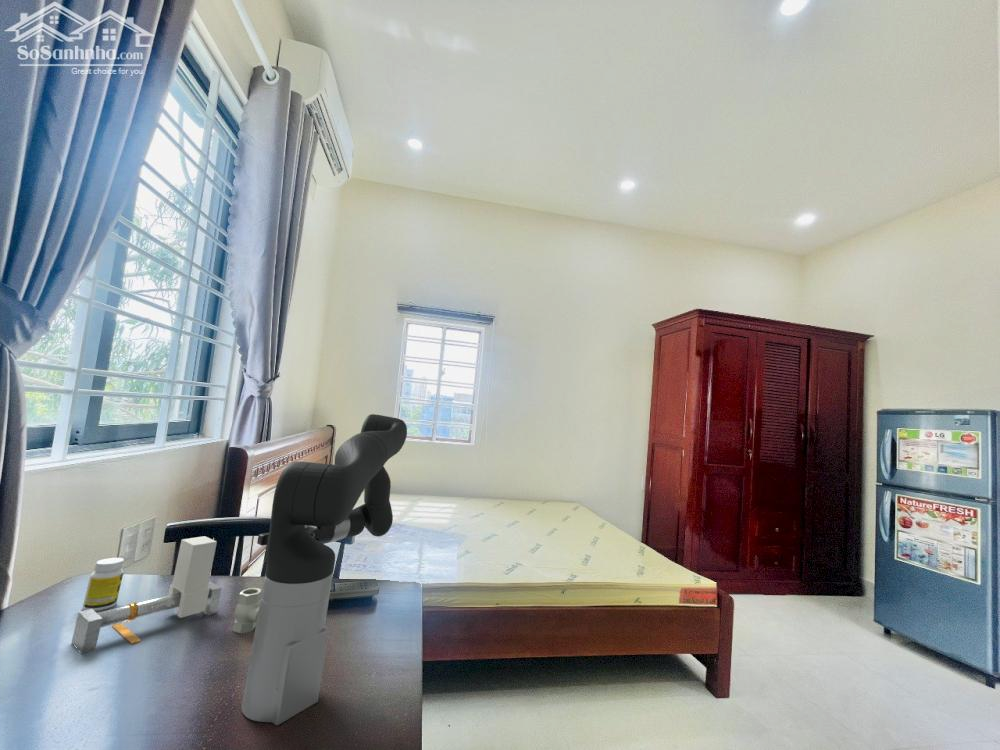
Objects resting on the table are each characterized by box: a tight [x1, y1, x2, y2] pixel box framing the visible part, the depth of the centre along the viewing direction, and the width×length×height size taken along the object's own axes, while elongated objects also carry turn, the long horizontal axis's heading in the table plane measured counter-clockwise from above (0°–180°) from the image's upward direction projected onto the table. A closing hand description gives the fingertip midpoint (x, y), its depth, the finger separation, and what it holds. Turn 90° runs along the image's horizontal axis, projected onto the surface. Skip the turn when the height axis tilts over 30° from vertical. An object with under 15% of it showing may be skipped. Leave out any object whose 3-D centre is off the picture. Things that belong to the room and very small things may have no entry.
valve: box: [232, 587, 262, 634], centre depth 73 cm, size 7×7×12 cm
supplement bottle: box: [82, 557, 125, 612], centre depth 77 cm, size 5×5×8 cm
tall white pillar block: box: [167, 535, 218, 619], centre depth 76 cm, size 4×6×13 cm, turn 60°
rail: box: [71, 580, 222, 655], centre depth 71 cm, size 19×9×5 cm, turn 150°
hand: (259, 540), depth 87 cm, fingers closed
